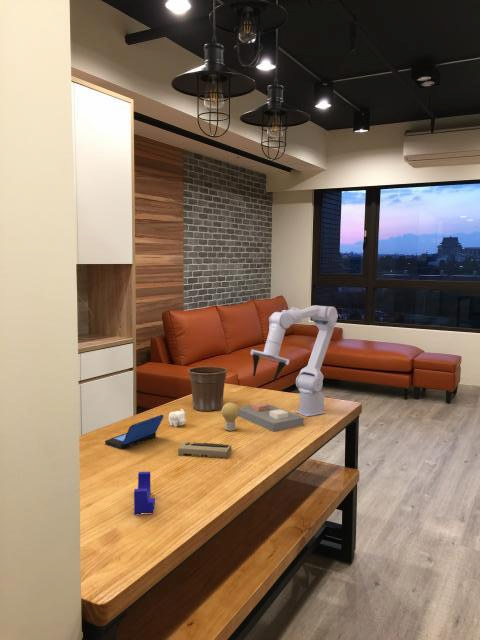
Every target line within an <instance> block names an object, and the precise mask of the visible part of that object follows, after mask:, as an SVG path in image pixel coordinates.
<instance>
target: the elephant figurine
mask: <svg viewBox="0 0 480 640" xmlns="http://www.w3.org/2000/svg"><path fill="white" fill-rule="evenodd" d="M168 422H169V425H170V426H174V427H175V428H176V427H178V426H184V424H186V423H185V422H187V421H186V412H185V410H184V409H183V408H180V409H179V410H176V411H171V412H169V413H168Z"/></svg>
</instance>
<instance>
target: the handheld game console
mask: <svg viewBox="0 0 480 640" xmlns="http://www.w3.org/2000/svg"><path fill="white" fill-rule="evenodd" d="M163 419H164V414H160V415H157V416H155V417H151V418H148V419H145V420H142V421H139V422H137V423H134V424H131V425H130V427H129V428H128V430H127V432H125V433H122V434H120V435H116V436H113V437H111V438H109V439H107V440H105V441H104V443H105V445H107V446H110V447H113V448H116V449H120V450H125V449H129V448H131V447H134V446H136V445H137V444H139V443H138V442H140V443H144V442H147V441H149V440H153V439H155V438H156V437H157V431H158V429H159V427H160V425H161V423H162V421H163ZM146 440H147V441H146ZM143 441H144V442H143ZM133 445H134V446H133Z"/></svg>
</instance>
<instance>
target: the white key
mask: <svg viewBox="0 0 480 640" xmlns="http://www.w3.org/2000/svg"><path fill="white" fill-rule="evenodd" d="M281 409H282V408H280V409H278V410H273V411H269V416H270V417H273V418H275V419H282V418H287V417H288V412H289V411H288V412H286V411H287V410H285V409H283V410H281ZM284 410H285V411H284Z"/></svg>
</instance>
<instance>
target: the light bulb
mask: <svg viewBox="0 0 480 640" xmlns="http://www.w3.org/2000/svg"><path fill="white" fill-rule="evenodd" d="M239 408H240V407H239V406H238V405H237V404H236V403H234V402H227V403H225V404H223V405H222V408H221V416H222V417H223V418H224V420H225V421H224V429H225V430H226V431H229V432H233V431H235V430H236V420H237V418H238V417H239V416H238V415H239Z"/></svg>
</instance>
